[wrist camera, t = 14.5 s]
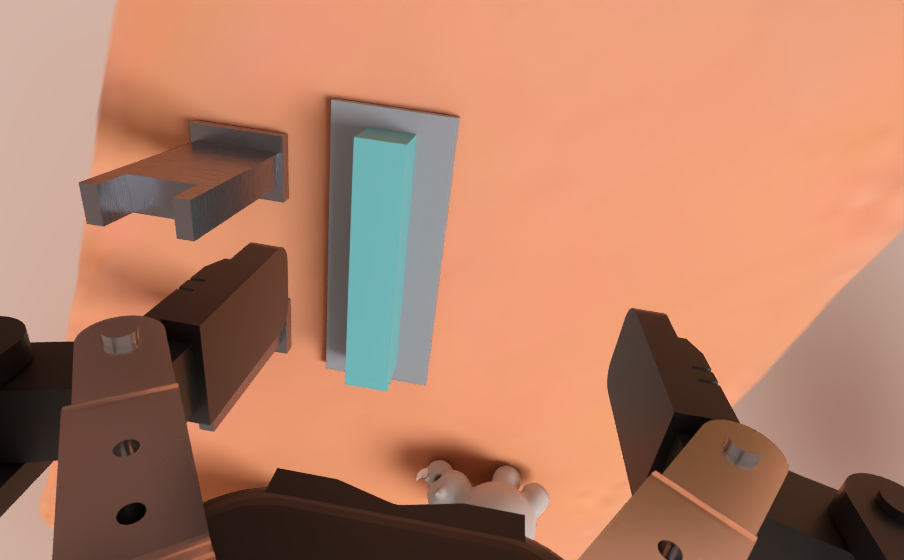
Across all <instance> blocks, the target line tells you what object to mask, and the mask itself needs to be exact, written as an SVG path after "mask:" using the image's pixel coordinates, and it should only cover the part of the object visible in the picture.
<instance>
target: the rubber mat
mask: <svg viewBox="0 0 904 560" xmlns="http://www.w3.org/2000/svg"><path fill="white" fill-rule="evenodd" d="M459 119H460V117H458V116H451V115H445V114H438V113H431V112H424V111H417V110H410V109H404V108H397V107H390V106H383V105H376V104H370V103H363V102H356V101H349V100H342V99H336V98H334V99H332V100H331V132H330V185H329V237H328V290H327V343H326V368H328V369H333V370H339V371H345V368H346V341H347V313H348V285H349V258H350V230H351V203H352V175H353V148H354V137H355V136H356V135H358V134H359V133H361V132H362V131H364V130H365V129H367V128H374V129H381V130H388V131H395V132H401V133H408V134H415V135H417V136H416V147H415V158H414V169H413V181H412V192H411V203H410V215H409V226H408V237H407V249H406V260H405V271H404V282H403V294H402V305H401V316H400V328H399V339H398V350H397V361H396V368H395V371H394V373H393V376H392V379H391V380H397V381H402V382H408V383H414V384H420V385H426V381H427V375H428V367H429V359H430V351H431V343H432V335H433V327H434V319H435V311H436V303H437V295H438V287H439V279H440V271H441V263H442V255H443V247H444V239H445V231H446V223H447V215H448V207H449V199H450V191H451V183H452V175H453V167H454V159H455V151H456V143H457V135H458V127H459Z"/></svg>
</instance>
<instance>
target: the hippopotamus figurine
mask: <svg viewBox="0 0 904 560" xmlns="http://www.w3.org/2000/svg"><path fill="white" fill-rule="evenodd" d="M420 478H425V481H426V482H427V485H428V487H429V490H428V494H427V499H428V502H429V504H455V503H465V504H470V505H475V506H481V507H486V508H491V509H496V510H502V511H507V512H512V513H518V514H523V515H525V536H526V537H528V538H530V539H532V540H534V537H535V529H536V526H537V521H536V519H537V517H539V516H540V515H541V514H542V513H543V512H544V511H545V509H546V508H547V506H548V503H549V495H548V492H547V491H546V489H545V488H544V487H543V486H541V485H540V484H537V483H530V484H527V485H526V486H525V487H524V488H523V490H522V492H519V491H518V489H519V487H520V484H521V478H520V475H519V473H518V472H517V470H516V469H514V468H513V467H511V466H506V465H505V466H501V467H499V468H498V469H497V470H496V471H495V473H494V475H493V477H492V481H491V482H486V483H482V484H480V485H477V486H475V487H472V486H471V484H470V482H469V480H468V478H467V477H466V476H465V475H464V474H463V473H461V472H459V471H456V470H453V469H452V467H451V466H450V464H449V463H447V462H446V461H443V460H437V461H433V462H432V463H430V465H429V466H428V467H426V468H424V469H421V470H420V471H419V472H418V473H417V476H416V481H417V480H418V479H420Z"/></svg>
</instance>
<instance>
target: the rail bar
mask: <svg viewBox="0 0 904 560" xmlns="http://www.w3.org/2000/svg"><path fill="white" fill-rule="evenodd" d="M416 136H417V135H415V134H408V133H401V132H395V131H388V130H381V129H374V128H367V129H365V130H364V131H362V132H361V133H359V134H358V135H356V136H355V137H354V148H353V175H352V203H351V230H350V258H349V285H348V313H347V341H346V368H345V384H347V385H353V386H359V387H364V388H370V389H376V390H382V391H387V390H388V387H389V384H390V382H391V379H392V376H393V373H394V371H395V368H396V361H397V350H398V339H399V328H400V316H401V305H402V294H403V282H404V271H405V260H406V249H407V237H408V226H409V215H410V203H411V192H412V181H413V169H414V158H415V147H416Z"/></svg>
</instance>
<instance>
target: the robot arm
mask: <svg viewBox="0 0 904 560" xmlns="http://www.w3.org/2000/svg"><path fill="white" fill-rule="evenodd" d="M287 312H288V266H287V253H286V250H285V249H284V248H282V247H276V246H270V245H264V244H258V243H249V244H248V245H247V246H246V247H244V248H243V249H242V250H241V251H240V252H239V253H237V254H236V255H235V256H234V257H233V258H231V259H223V260H221V261H218V262H215V263H213V264H210V265H208V266H205V267H204V268H202V269H201V270H200V271H199V272H197V273H196V274H195V275H194V276H193V277H191V280H188V281H186V282H185V283H184V284H183V285H181V286H180V288H179V290H178V289H176V290H175V291H174V292H173V293H171V294H170V295H169V296H168V297H166V298H165V299H164V300H163V301H161V302H160V303H159V304H158V305H156V306H155V307H154V308H153V309H151V310H150V311H149V312H148V313H146V314H145V315H144V316H120V317H114V318H110V319H106V320H103V321H100V322H97V323H95V324H93V325H91V326H89V327H87V328H86V329H84V330H83V331H82V332H80V333H79V334H78V336H77V337H76V339H75V340H74V342H36V343H30V341H29V337H28V334H27V330H26V327H25V325H24V324H23V322H21V321H19V320H18V319H15V318H11V317H5V316H0V517H1V516H2V515H3V514H4V513H5V512H6V510H7V509H8V508H9V507H10V506H11V505H12V504H13V503H14V502H15V501H16V500H17V499H18V498H19V497H20V496H21V495H22V494H23V493H24V492H25V491H26V490H27V489H28V487H29V486H30V485H31V484H32V483H33V482H34V481H35V480H36V479H37V478H38V477H39V476H40V475H41V474H42V473H43V472H44V470H45V469H47V467H48V466H49V465H50V464H51V463H52V462H53V461H56V460H58V470H57V487H56V504H55V521H54V539H53V555H52V560H564V559H563V558H561V557H560V556H558V555H557V554H556V553H554V552H553V551H551V550H550V549H549V548H547V547H545V546H543V545H542V544H540V543H538V542H536V541H535V540H532V539H530V538H528V537H526V536H525V515H523V514H518V513H512V512H507V511H502V510H496V509H491V508H486V507H481V506H475V505H470V504H465V503H455V504H426V505H396V504H392V503H390V502H387V501H385V500H383V499H381V498H378V497H376V496H374V495H372V494H369V493H367V492H365V491H362V490H360V489H358V488H356V487H353V486H351V485H349V484H347V483H344V482H342V481H340V480H338V479H333V478H327V477H322V476H317V475H311V474H306V473H301V472H296V471H290V470H285V469H280V468H277V470H276V472H275V474H274V476H273V478H272V479H271V481H270V483H269V485H268V487H267V488H254V489H247V490H241V491H237V492H233V493H229V494H225V495H222V496H219V497H216V498H213V499H211V500H209V501H206V502H204V503H203V501H202V497H201V492H200V487H199V482H198V477H197V472H196V468H195V463H194V458H193V453H192V448H191V443H190V439H189V434H188V429H187V424H186V423H187V421H189V422H194V423H200V424H205V425H211V424H212V423H213V421H214V420H215V419H216V417H217V416H218V415H219V413H220V412H221V411H222V409H223V408H224V407H225V405H226V404H227V403H228V401H229V400H230V399H231V397H232V396H233V395H234V393H235V392H236V391H237V389H238V388H239V387H240V385H241V384H242V383H243V381H244V380H245V379H246V378H247V376H248V375H249V374H250V372H251V371H252V370H253V368H254V367H255V366H256V364H257V363H258V362H259V360H260V359H261V358H262V356H263V355H264V354H265V352H266V351H267V350H268V348H269V347H270V346H271V344H272V343H273V342H274V340H275V339H276V338H277V336H278V335H279V334H280V332H281V331H282V329H283V327H284V324H285V321H286V318H287ZM607 388H608V394H609V398H610V402H611V407H612V411H613V415H614V420H615V424H616V428H617V433H618V437H619V441H620V446H621V450H622V454H623V459H624V463H625V467H626V472H627V476H628V480H629V484H630V489H631V493H632V497H631V498H630V499H629V500H628V502H627V503H626V504H625V505H624V506H623V507H622V509H621V510H620V511H619V512H618V513H617V514H616V516H615V517H614V518H613V519H612V520H611V521H610V523H609V524H608V525H607V526H606V527H605V529H604V530H603V531H602V532H601V533H600V534H599V536H598V537H597V538H596V539H595V540H594V541H593V543H592V544H591V545H590V546H589V547H588V548H587V550H586V551H585V552H584V553H583V554H582V555H581V557H580V558H579V559H578V560H904V487H903V486H901V485H899V484H897V483H895V482H893V481H891V480H888V479H885V478H883V477H880V476H876V475H872V474H867V473H857V474H852V475H850V476H849V477H848V478H847V479H846V480H845V481H844V483H843V485H842V486H841V488H840V489H839V490H836V489H833V488H831V487H828V486H826V485H823V484H821V483H818V482H816V481H813V480H810V479H808V478H805V477H803V476H800V475H798V474H796V473H793V472H791V471H789V470H788V463H787V460H786V458H785V456H784V455H783V453H782V452H781V451H780V449H779V448H778V447H777V446H776V445H775V444H774V443H772V441H770V440H769V439H768V438H767V437H765V436H764V435H762V434H761V433H759V432H757V431H756V430H754V429H752V428H750V427H748V426H745V425H743V424H740V422H739V421H738V419H737V417H736V415H735V413H734V411H733V409H732V407H731V406H730V404H729V402H728V400H727V398H726V396H725V394H724V392H723V391H722V389H721V387H720V386H719V385H718V381H717V379H716V377H715V376H714V374H713V373H712V372H711V368H710V366H709V364H708V363H707V361H706V359H705V357H704V355H703V354H702V353H701V352H700V351H699V350H698V349H697V348H696V347H695V346H694V345H692V344H691V343H690V342H689V341H688V340H687V339H684V338H678V337H677V335H676V333H675V331H674V329H673V327H672V325H671V323H670V320H669V318H668V316H667V315H666V314H664V313H658V312H652V311H646V310H641V309H635V308H631V309H630V310H629V311H628V313H627V315H626V317H625V320H624V323H623V326H622V329H621V332H620V335H619V338H618V341H617V344H616V347H615V350H614V353H613V356H612V359H611V362H610V366H609V371H608V378H607Z"/></svg>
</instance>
